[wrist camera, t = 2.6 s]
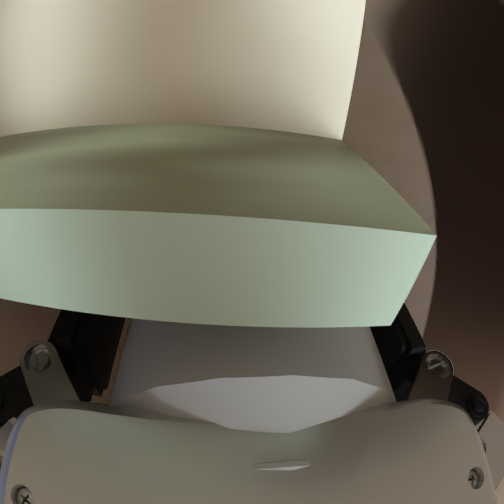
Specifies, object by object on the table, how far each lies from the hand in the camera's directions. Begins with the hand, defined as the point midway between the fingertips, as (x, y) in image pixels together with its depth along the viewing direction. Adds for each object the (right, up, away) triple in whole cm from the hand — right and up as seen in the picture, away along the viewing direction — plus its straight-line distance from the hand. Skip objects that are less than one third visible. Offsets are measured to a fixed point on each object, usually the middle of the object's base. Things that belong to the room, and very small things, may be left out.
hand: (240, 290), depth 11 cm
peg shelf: (-7, +13, -4) cm, 15 cm away
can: (0, +2, +4) cm, 5 cm away
